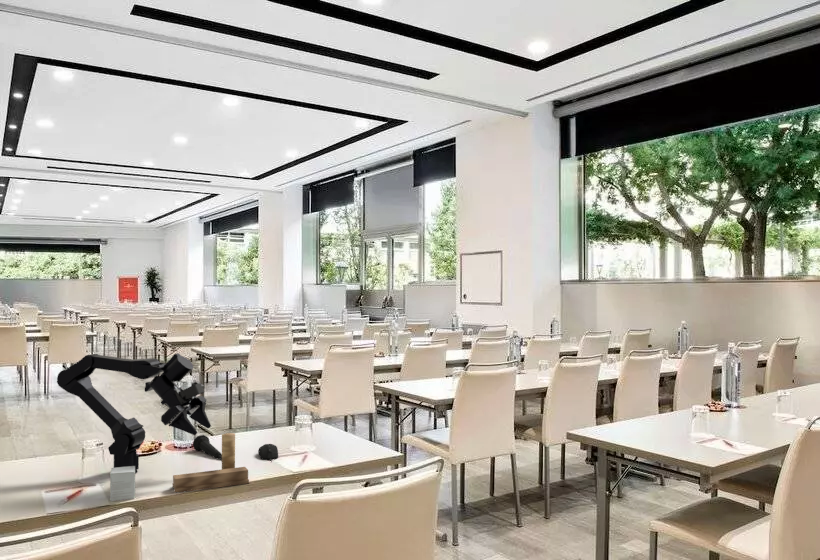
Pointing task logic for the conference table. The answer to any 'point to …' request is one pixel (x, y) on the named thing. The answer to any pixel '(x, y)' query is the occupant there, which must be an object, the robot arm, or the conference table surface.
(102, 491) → the conference table surface
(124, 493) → the product box
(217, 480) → the ridge
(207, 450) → the microphone
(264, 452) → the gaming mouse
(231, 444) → the dowel
